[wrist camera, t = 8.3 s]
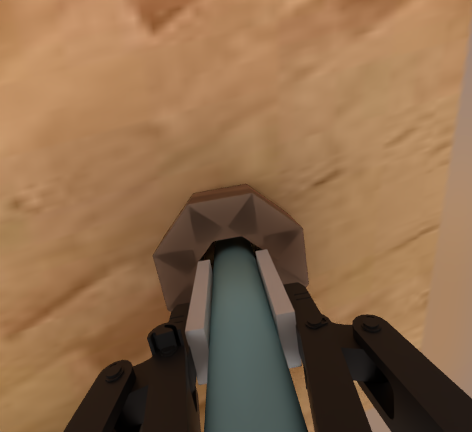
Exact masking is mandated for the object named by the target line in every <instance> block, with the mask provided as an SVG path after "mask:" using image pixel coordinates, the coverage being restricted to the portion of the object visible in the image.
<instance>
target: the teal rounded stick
mask: <svg viewBox="0 0 472 432" xmlns="http://www.w3.org/2000/svg"><path fill="white" fill-rule="evenodd" d="M204 432H308V430H307V427H306V424H305V420H304V417H303V414H302V410H301V407H300V404H299V401H298V397H297V394H296V391H295V387H294V384H293V381H292V378H291V374H290V371H289V368H288V364H287V361H286V358H285V355H284V351H283V348H282V345H281V341H280V339H279V335H278V332H277V329H276V326H275V322H274V319H273V316H272V312H271V309H270V306H269V302H268V299H267V296H266V293H265V289H264V286H263V283H262V279H261V276H260V273H259V269H258V266H257V263H256V259H255V256H254V253H253V250H252V246H251V243H250V241H249V240H247V239H245V238H244V237H242V236H240V237H234V238H229V239H223V240H218V241H216V243H215V250H214V268H213V286H212V304H211V321H210V339H209V355H208V373H207V390H206V408H205V425H204Z"/></svg>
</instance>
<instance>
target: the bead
mask: <svg viewBox="0 0 472 432" xmlns="http://www.w3.org/2000/svg"><path fill="white" fill-rule="evenodd" d="M240 236H242V237H244V238H245V239H247V240H249V241H250V242H252V243H253V244H255V245H256V246H258V247H259V250H265V249H267V250H268V252H269V255H270V257H271V259H272V261H273V264H274V266H275V268H276V270H277V273H278V275H279V277H280V279H281V282H282V284H283V285H284V284H290V283H295V282H299V283H300V284H302V285H304V286H305V287H307V285H308V284H309V281H308V272H307V263H306V254H305V244H304V235H303V228H302V227H301V226H300V225H299V224H298V223H297V222H296V221H295V220H294V219H293V218H292V217H291V216H290V215H289V214H288V213H286V212H285V211H284V210H282V209H281V208H279V207H278V206H277V205H275V204H274V203H272V202H271V201H269V200H268V199H267V198H265V197H264V196H262V195H261V194H260V193H258V192H257V191H255V190H254V189H252V188H251V187H250V186H248V185H247V184H243V185H238V186H232V187H226V188H221V189H215V190H210V191H204V192H199V193H193V195H192V196H191V197H190V199H189V200H188V202H187V203H186V205H185V206H184V208H183V209H182V211H181V212H180V214H179V215H178V217H177V218H176V220H175V221H174V223H173V224H172V226H171V227H170V229H169V230H168V232H167V233H166V234H165V236H164V238H163V239H162V241H161V243H160V244H159V246H158V248H157V249H156V251H155V253H154V254H153V258H154V262H155V266H156V269H157V273H158V277H159V280H160V284H161V288H162V291H163V295H164V299H165V302H166V306H167V310H168V311H170V312H172V310H173V309H174V308H175V307H176V305H178V304H184V303H189V302H191V297H192V291H193V286H194V281H195V275H196V270H197V265H198V262H199V261H205V259H204V253H205V252H206V251H207V249H208V248H209V246H210V245H211V244H212V242H213V241H218V240H223V239H229V238H234V237H240ZM256 263H257V258H256ZM257 266H258V264H257ZM212 272H213V268H212Z"/></svg>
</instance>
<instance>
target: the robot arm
mask: <svg viewBox="0 0 472 432" xmlns="http://www.w3.org/2000/svg"><path fill="white" fill-rule="evenodd" d="M255 252H256V258H257V264H258V269H259V273H260V276H261V279H262V283H263V286H264V289H265V293H266V296H267V299H268V302H269V306H270V309H271V312H272V316H273V319H274V322H275V326H276V329H277V332H278V335H279V339H280V341H281V345H282V348H283V351H284V355H285V358H286V361H287V364H288V368H293V367H299V366H302V365H301V360H302V363H303V366H304V374H305V382H306V389H307V391H308V397H309V402H310V408H311V413H312V419H313V424H314V430H315V432H372V431H371V427H370V425H369V422H368V419H367V417H366V414H365V411H364V409H363V406H362V403H361V401H360V398H359V395H358V393H357V390H356V387H355V385H354V382H353V380H355V381H357V382H358V384H359V385H360V387H361V388H362V390H363V391H364V393H365V394H366V396H367V397H368V399H369V400H370V401H371V403H372V404H373V406H374V407H375V409H376V410H377V411H378V413H379V414H380V416H381V417H382V419H383V420H384V422H385V423H386V425H387V426H388V427H389V429H390V430H391V432H472V399H471V398H470V397H469V396H468V395H467V394H466V393H465V392H464V391H463V390H462V389H460V388H459V387H458V386H457V385H456V384H455V383H454V382H452V380H451V379H449V378H448V377H447V376H446V375H445V374H444V373H443V372H442V371H441V370H440V369H438V368H437V367H436V366H435V365H434V364H433V363H432V362H430V361H429V359H427V358H426V357H425V356H424V355H423V354H422V353H421V352H420V351H419V350H418V349H416V348H415V347H414V346H413V345H412V344H411V343H410V342H409V341H408V340H407V339H405V338H404V337H403V336H402V335H401V334H400V333H399V332H398V331H397V330H396V329H394V328H393V327H392V326H391V325H390V324H389V323H388V322H387V321H385V320H384V319H382V318H380V317H377V316H375V315H360V316H358V317H356V318H355V319H354V320H353V324H352V325H342V324H336V323H332V322H331V321H330V320H329V318H328V317H326V316H325V315H322V314H321V313H320V311H319V309H318V308H317V306H316V304H315V303H314V301H313V299H312V298H311V296H310V294H309V293H308V291H307V289H306V287H305V286H304V285H302V284H300V283H299V282H295V283H290V284H284V285H283V284H282V282H281V279H280V277H279V275H278V273H277V270H276V268H275V266H274V264H273V261H272V259H271V257H270V255H269V252H268V250H267V249H265V250H260V251H255ZM212 286H213V272H212V267H211V263H210V260H205V261H199V262H198V265H197V270H196V275H195V281H194V286H193V291H192V297H191V302H189V303H184V304H178V305H176V307H175V308H174V309H173V310H172V312H171V315H170V319H169V322H168V323H164V324H162V325H159V326H157V327H156V328H154V329H153V330H152V331H151V332H150V333H149V335H148V337H147V339H148V342H149V346H150V349H151V352H152V358H150V359H149V360H147V361H145V362H143V363H140V364H138V365H136V366H133V367H132V364H131V362H129V361H128V360H121V361H117V362H114V363H112V364H110V365H109V366H107V367H106V368H105V369H103V370H102V372H101V373H100V374H99V375H98V377H97V378H96V380H95V382H94V383H93V385H92V386H91V388H90V390H89V391H88V393H87V395H86V396H85V398H84V399H83V401H82V403H81V404H80V406H79V407H78V409H77V411H76V412H75V414H74V415H73V417H72V419H71V420H70V422H69V423H68V425H67V427H66V428H65V430H64V432H201V429H200V416H199V403H198V393H197V390H196V386H195V385H196V376H197V380H198V384H199V385H202V384H207V373H208V355H209V339H210V321H211V304H212Z"/></svg>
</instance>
